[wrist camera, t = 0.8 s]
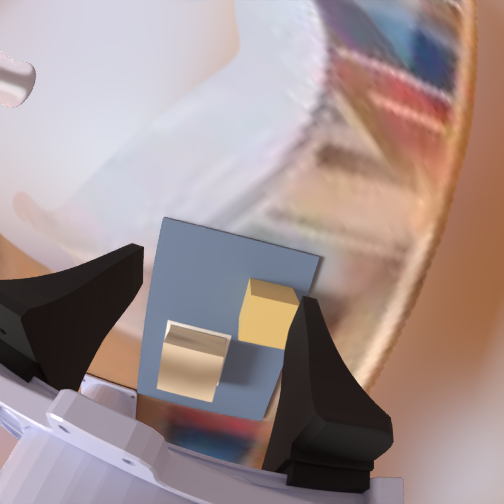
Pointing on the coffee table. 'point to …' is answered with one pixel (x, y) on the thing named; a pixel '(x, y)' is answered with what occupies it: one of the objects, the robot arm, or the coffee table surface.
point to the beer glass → (15, 81)
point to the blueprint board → (217, 310)
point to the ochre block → (267, 313)
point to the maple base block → (191, 363)
